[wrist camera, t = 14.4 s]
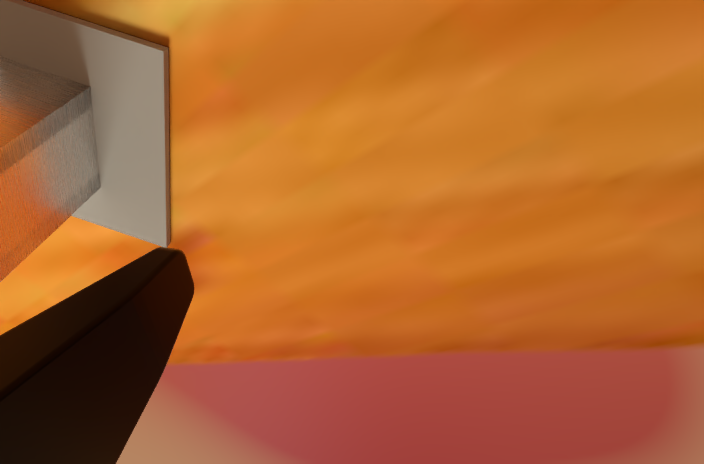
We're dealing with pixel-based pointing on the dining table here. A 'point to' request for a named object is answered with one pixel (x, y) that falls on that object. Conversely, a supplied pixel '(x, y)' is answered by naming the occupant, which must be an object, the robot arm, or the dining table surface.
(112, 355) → the robot arm
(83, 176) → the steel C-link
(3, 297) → the dining table surface
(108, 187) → the slate mat
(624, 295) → the dining table surface
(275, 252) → the dining table surface
